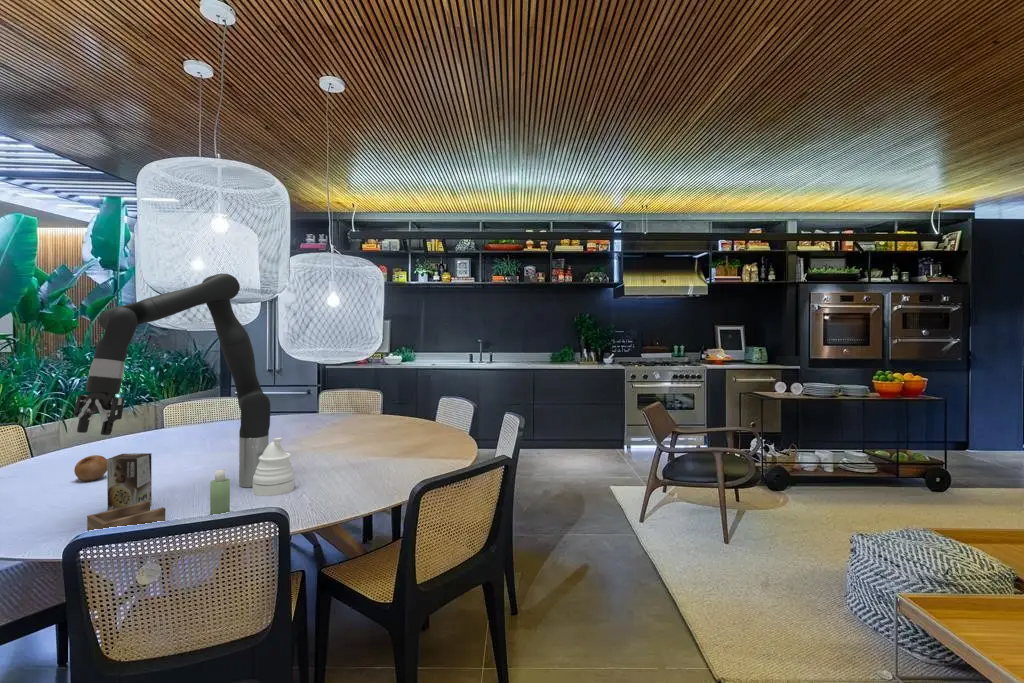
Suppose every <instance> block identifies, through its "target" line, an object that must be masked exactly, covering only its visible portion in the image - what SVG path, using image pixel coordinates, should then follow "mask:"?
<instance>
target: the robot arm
mask: <svg viewBox="0 0 1024 683" xmlns="http://www.w3.org/2000/svg"><path fill="white" fill-rule="evenodd" d="M240 289H241V286H240V282H239V281H238V279H237V278H236V277H235V276H233V275H231V274H228V273H217V274H213V275H211V276H208V277H206V278H204V279H203V280H202V281H201V283H199V284H196V285H194V286H193V285H192V286H189V287H186V288H182V289H177V290H175V291H169V292H164V293H161V294H157V295H154V296H151V297H148V298H145V299H141V300H140V301H136V302H132V303H128V304H124V305H120V306H119V305H118V306H116V307H111V308H109V309H106V310H104V311H103V312H101V313H100V314H99V317H98V324H99V327H101V329H103V330H104V332H103V333H104V334H103V337H102V338H101V339H100V340H98V342H97V344H96V348H95V350H94V351H95V352H94V355H93V360H92V362H91V365H90V367H89V371H88V376H87V381H86V385H85V391H86V392H88V395H86V394H79V395H78V396H77V399H76V402H75V406H74V409H73V410H74V411H73V416H74V417H77V418H78V424H77V428H76V432H77V433H78V434H79V433H82V434H86V433H87V432H88V429H89V426H90V420H91V419H90V418H91V417H92V416H93V415H94V414H96V413H99V414H100V415H101V416H102V418H103V420H104V421H102V426H101V431H100V435H102V436H109V435H111V434H112V431H113V427H114V423H115V422H116V421H118V420H122V416H123V411H124V406H125V397H116V395H118V394H120V392H121V388H122V383H123V379H124V374H125V368H126V367H125V365H126V358H127V354H128V348H129V345H130V343H132V342H131V341H132V339H133V337H134V335H135V333H136V329H137V327H138V325H141V324H145V323H152V322H155V321H160V320H161V319H164V318H167V317H171V316H173V315H175V314H179V313H181V312H184V311H186V310H189V309H192V308H195V307H197V306H201V305H203V304H206V306H207V309H208V311H209V313H210V316H211V318H212V320H213V321H212V322H213V325H214V327H215V331H216V334H217V337H218V341H219V344H220V348H221V351H222V355H223V357H224V361H225V363H226V365H227V368H228V370H229V372H230V374H231V377H232V379H233V382H234V386H235V390H236V396H237V402H238V408H239V410H240V426H239V434H238V435H239V436H238V437H239V440H238V441H239V448H238V451H239V453H238V454H239V456H238V457H239V458H238V459H239V460H238V461H239V464H238V468H239V469H238V470H239V471H238V474H239V475H238V486H239V487H241V488H253V476H254V474H255V471H256V467H257V466H258V464H259V461H260V460H259V457H260V456H261V455H262V454H263V452H264V450H265V449H266V447H267V446H268V445H269V444H270V442H269V439H270V438H269V434H270V433H269V432H270V427H271V426H270V425H271V401H270V399H269V397H268V396H267V395H266V394H265V393H264V391H263V389H262V387H261V384H260V381H259V380H258V377H257V376H258V375H257V370H256V361H255V360H256V359H255V353H254V348H253V345H252V343H251V338H250V336H249V334H248V332H247V331H246V328H245V327H244V326H243V324H242V323H241V322H240V321H239V320H238V318H237V317H236V315H235V313H234V311H233V307H232V302H231V300H232V299H233V298H235V297H236V296H237V295H238V294H239V292H240ZM80 410H81V411H80ZM116 413H117V414H116Z"/></svg>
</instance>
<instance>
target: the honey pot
mask: <svg viewBox="0 0 1024 683" xmlns="http://www.w3.org/2000/svg"><path fill="white" fill-rule="evenodd" d="M282 441H283V438H282V437H274V438H273V441H271V442H269V445H268V446H267V447H266V449H265V450H264V452H263V454H262V455H261V456H260V457H259V460H260V461H259V464H258V466H257V467H256V471H255V474H254V476H253V487H252V494H253V495H254V496H258V497H259V496H260V497H272V496H280V495H284V494H287V493H290V492H292V491H293V490H294V489H295V471H294V470H293V467H292V463H291V461H290V458H291V456H292V454H291V453H289V452H286V450H285V448H284V447H283V446H282V444H281V442H282Z"/></svg>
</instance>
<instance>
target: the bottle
mask: <svg viewBox="0 0 1024 683" xmlns="http://www.w3.org/2000/svg"><path fill="white" fill-rule="evenodd" d="M214 474H215V475H214V479H212V480H210V485H209V487H210V488H209V489H210V490H209V492H210V494H209V497H210V498H209V503H210V504H209V516H210V515H213V514H221V513H226V512H230V513H231V479H230V478H226V469H217V470H215V471H214Z"/></svg>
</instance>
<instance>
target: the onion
mask: <svg viewBox="0 0 1024 683" xmlns="http://www.w3.org/2000/svg"><path fill="white" fill-rule="evenodd" d="M107 459H108V458H106V457H105V456H102V455H97V454H95V455H93V454H92V455H89V456H85V457H84V458H81V459H79V461H78V462H77V463H75V466H74V470H73V472H74V475H75V476H76V477H77V479H78V480H81V481H84V482H91V481H96V480H98V479H100V478H102V477H103V476H104V475H105V474H107Z"/></svg>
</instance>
